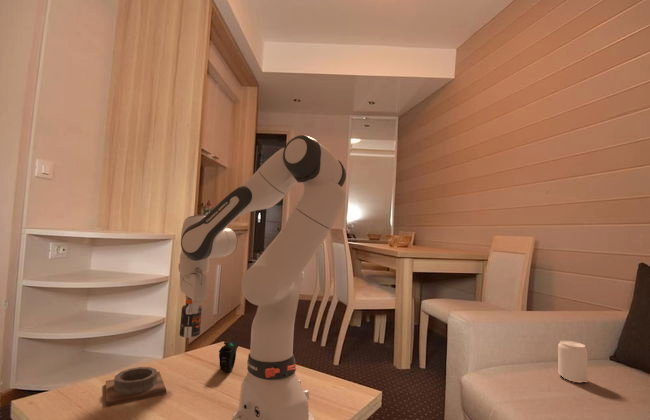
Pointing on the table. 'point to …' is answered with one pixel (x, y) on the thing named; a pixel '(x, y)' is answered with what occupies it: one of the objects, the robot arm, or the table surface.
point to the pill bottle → (190, 320)
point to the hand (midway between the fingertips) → (191, 310)
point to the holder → (134, 385)
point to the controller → (228, 355)
